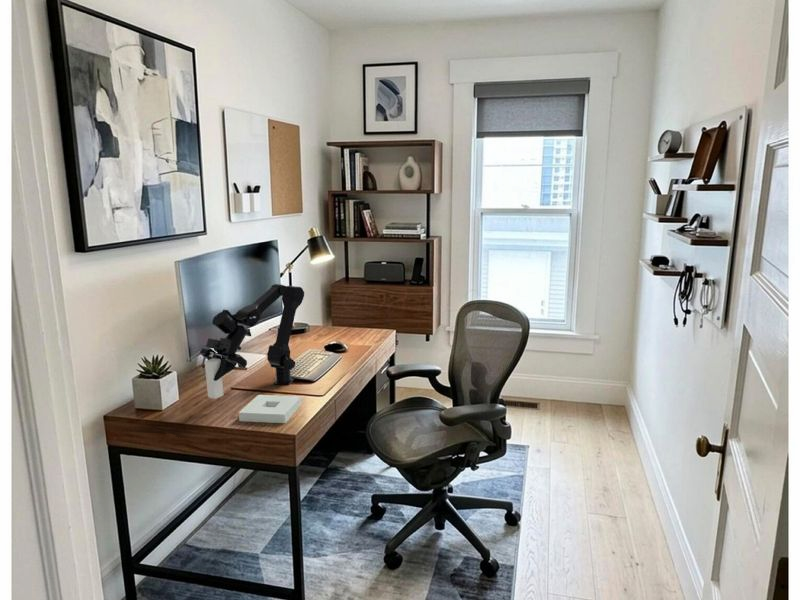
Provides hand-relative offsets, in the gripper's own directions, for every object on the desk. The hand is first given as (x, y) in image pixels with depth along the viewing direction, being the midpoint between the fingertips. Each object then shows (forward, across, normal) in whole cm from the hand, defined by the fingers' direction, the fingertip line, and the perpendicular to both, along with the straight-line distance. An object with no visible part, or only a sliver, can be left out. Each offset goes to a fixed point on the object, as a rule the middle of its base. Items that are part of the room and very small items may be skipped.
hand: (210, 379), depth 183 cm
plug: (+4, 0, +6) cm, 7 cm away
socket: (+2, +18, +15) cm, 24 cm away
